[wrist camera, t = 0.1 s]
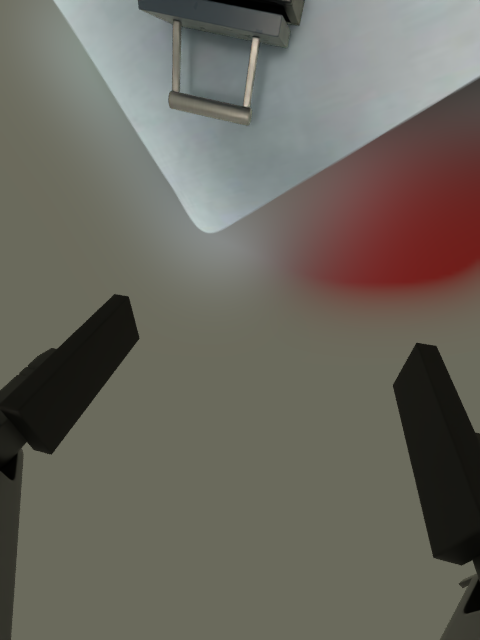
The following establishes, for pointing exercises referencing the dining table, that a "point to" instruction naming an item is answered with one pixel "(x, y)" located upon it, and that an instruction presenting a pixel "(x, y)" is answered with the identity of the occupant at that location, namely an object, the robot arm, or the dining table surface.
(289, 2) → the black drawer cabinet
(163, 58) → the dining table surface
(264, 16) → the pull-out drawer box
